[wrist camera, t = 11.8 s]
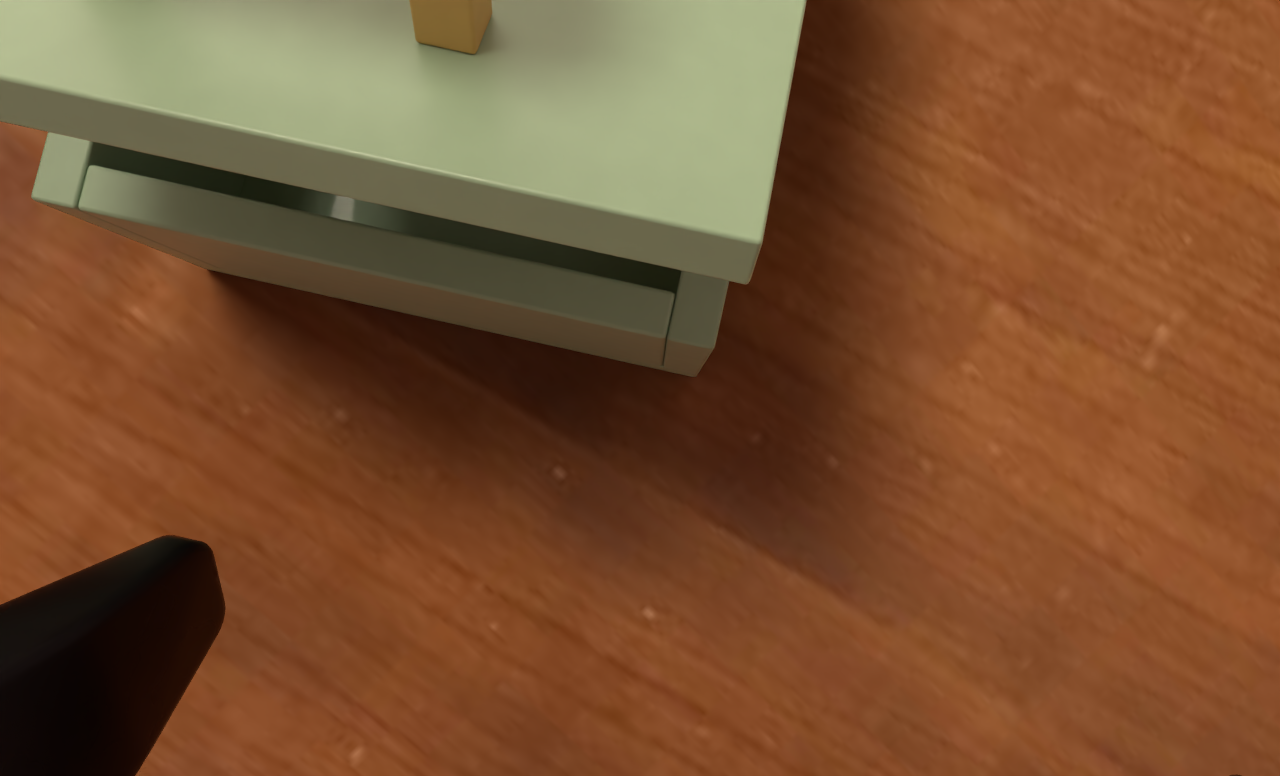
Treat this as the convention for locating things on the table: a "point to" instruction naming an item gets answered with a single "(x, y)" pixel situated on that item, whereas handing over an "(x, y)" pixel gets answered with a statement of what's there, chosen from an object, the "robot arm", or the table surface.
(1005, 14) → the table surface
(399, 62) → the box lid
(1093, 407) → the table surface
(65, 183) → the green square box
